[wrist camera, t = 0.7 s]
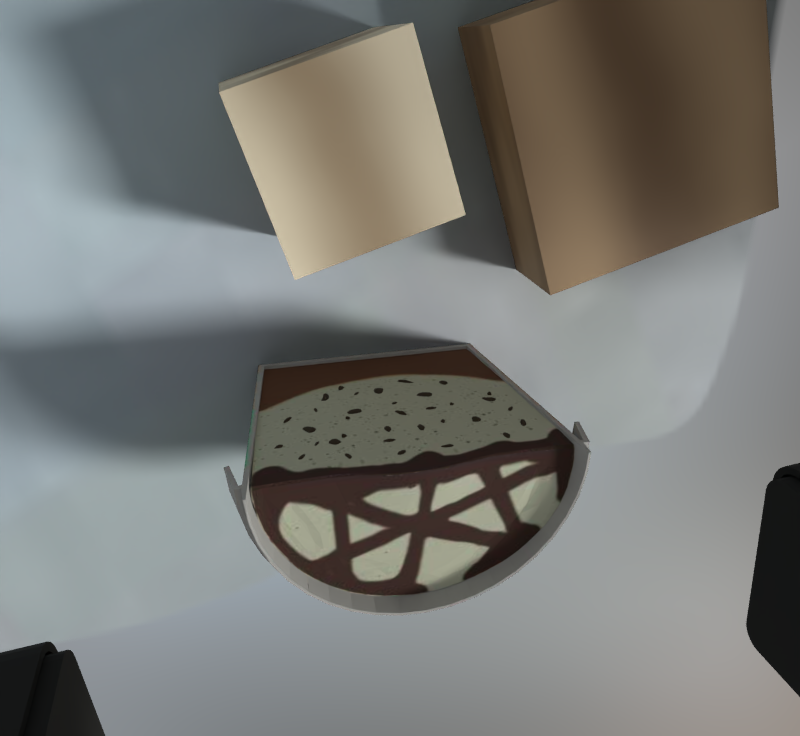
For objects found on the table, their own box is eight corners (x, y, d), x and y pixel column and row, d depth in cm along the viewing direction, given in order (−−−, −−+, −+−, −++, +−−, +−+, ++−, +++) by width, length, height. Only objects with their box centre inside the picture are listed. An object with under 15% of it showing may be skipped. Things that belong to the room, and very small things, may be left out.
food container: (237, 492, 33) (245, 657, 24) (222, 368, 30) (224, 502, 22) (495, 457, 35) (588, 596, 26) (501, 340, 33) (606, 450, 24)
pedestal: (693, -57, 28) (762, -71, 25) (717, 189, 33) (778, 207, 29) (454, 27, 28) (489, 24, 24) (513, 267, 32) (550, 295, 28)
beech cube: (373, 27, 27) (412, 22, 21) (420, 183, 29) (465, 214, 24) (218, 82, 26) (218, 92, 21) (280, 236, 29) (294, 279, 24)
